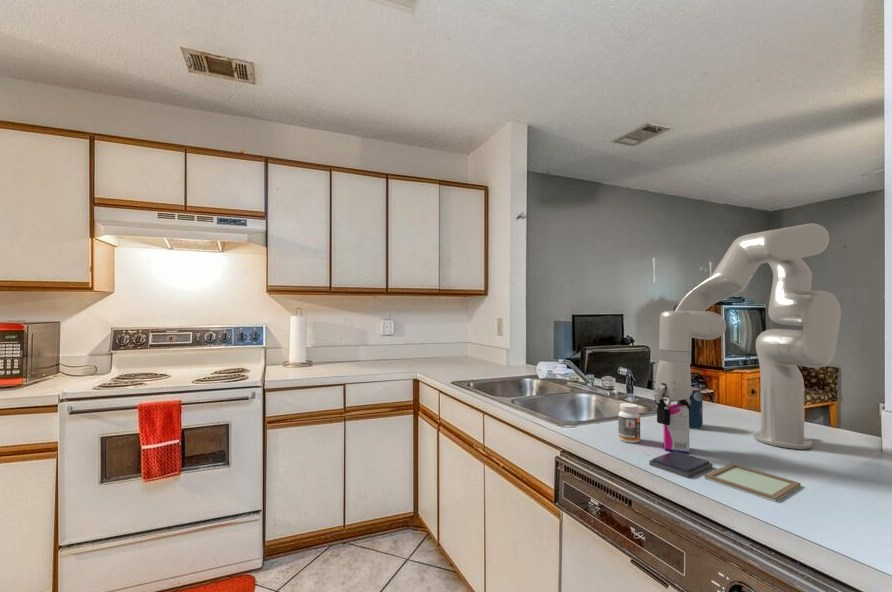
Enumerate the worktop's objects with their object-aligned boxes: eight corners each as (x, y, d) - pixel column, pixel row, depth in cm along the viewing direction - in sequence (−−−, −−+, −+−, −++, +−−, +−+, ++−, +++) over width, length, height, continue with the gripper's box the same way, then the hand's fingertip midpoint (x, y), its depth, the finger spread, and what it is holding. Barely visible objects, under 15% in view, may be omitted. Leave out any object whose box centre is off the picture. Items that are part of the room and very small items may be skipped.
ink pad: (674, 455, 106) (674, 449, 106) (712, 467, 98) (712, 461, 98) (649, 464, 100) (649, 458, 100) (688, 478, 92) (688, 471, 92)
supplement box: (687, 447, 112) (687, 404, 112) (689, 454, 107) (689, 409, 107) (663, 444, 115) (662, 402, 115) (664, 450, 109) (664, 407, 110)
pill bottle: (642, 444, 114) (642, 407, 115) (620, 442, 116) (620, 406, 116) (637, 437, 120) (637, 403, 120) (616, 436, 121) (616, 402, 121)
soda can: (707, 429, 128) (707, 390, 129) (684, 429, 129) (684, 390, 129) (694, 423, 135) (694, 385, 136) (672, 422, 135) (672, 385, 136)
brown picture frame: (731, 466, 99) (731, 463, 99) (800, 486, 88) (800, 482, 88) (704, 478, 92) (704, 475, 92) (775, 501, 81) (775, 498, 81)
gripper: (677, 354, 119) (676, 414, 119) (642, 356, 110) (641, 422, 109) (705, 357, 113) (704, 421, 112) (671, 360, 103) (669, 429, 103)
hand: (673, 421), depth 111 cm, fingers open, 9 cm apart
